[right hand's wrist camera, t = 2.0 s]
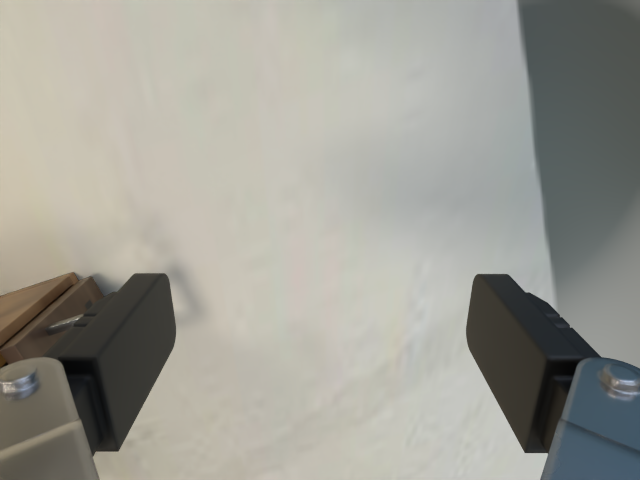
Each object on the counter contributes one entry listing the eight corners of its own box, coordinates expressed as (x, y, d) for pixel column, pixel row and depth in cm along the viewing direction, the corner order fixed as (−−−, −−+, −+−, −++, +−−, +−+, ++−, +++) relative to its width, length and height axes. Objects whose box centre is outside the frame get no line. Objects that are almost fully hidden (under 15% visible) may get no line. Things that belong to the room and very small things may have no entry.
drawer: (156, 254, 34) (99, 319, 26) (186, 311, 36) (142, 389, 27) (-82, 332, 37) (-209, 414, 28) (-43, 381, 39) (-150, 473, 30)
